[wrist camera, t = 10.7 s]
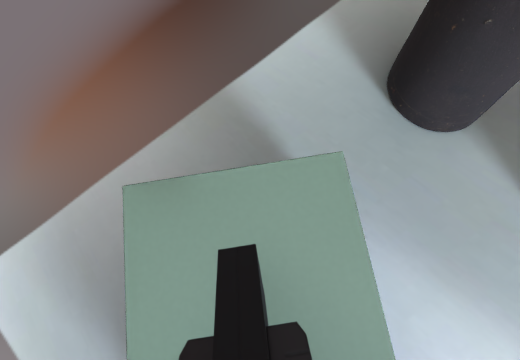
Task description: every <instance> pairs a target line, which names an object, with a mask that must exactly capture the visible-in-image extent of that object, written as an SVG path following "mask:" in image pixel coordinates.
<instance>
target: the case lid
mask: <svg viewBox="0 0 520 360" xmlns="http://www.w3.org/2000/svg"><path fill="white" fill-rule="evenodd" d="M123 224H124V264H125V304H126V344H127V360H179V355H180V353H181V352H182V350H183V348H184V346H185V344H186V343H187V341H188V340H190V339H196V338H203V337H209V336H214V319H215V299H216V280H217V260H218V250H219V249H226V248H232V247H238V246H245V245H251V244H256V248H257V254H258V259H259V265H260V271H261V277H262V282H263V288H264V294H265V301H266V310H267V318H268V326H271V325H277V324H283V323H290V322H296V321H297V323H298V324H299V325H300V326H301V328H302V329H303V330H304V332H305V333H306V335H307V339H308V344H309V348H310V353H311V356H312V360H395V356H394V352H393V348H392V344H391V340H390V336H389V332H388V328H387V325H386V321H385V317H384V313H383V309H382V305H381V301H380V297H379V293H378V289H377V285H376V281H375V277H374V273H373V269H372V265H371V261H370V257H369V253H368V249H367V245H366V241H365V238H364V234H363V230H362V226H361V222H360V218H359V214H358V210H357V206H356V202H355V198H354V194H353V190H352V186H351V182H350V178H349V174H348V170H347V166H346V162H345V158H344V154H343V151H341V152H335V153H328V154H322V155H316V156H309V157H303V158H297V159H290V160H284V161H278V162H271V163H265V164H259V165H252V166H246V167H240V168H233V169H227V170H221V171H214V172H208V173H202V174H195V175H189V176H183V177H176V178H170V179H164V180H157V181H151V182H145V183H138V184H132V185H126V186H123Z"/></svg>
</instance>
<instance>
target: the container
mask: <svg viewBox="0 0 520 360" xmlns="http://www.w3.org/2000/svg"><path fill="white" fill-rule="evenodd" d="M519 80H520V0H429V1H428V3H427V5H426V7H425V8H424V10H423V12H422V14H421V15H420V17H419V19H418V21H417V23H416V24H415V26H414V28H413V30H412V32H411V33H410V35H409V37H408V39H407V40H406V42H405V44H404V46H403V47H402V49H401V51H400V53H399V54H398V56H397V58H396V60H395V62H394V64H393V66H392V68H391V70H390V72H389V75H388V82H387V85H388V92H389V95H390V98H391V100H392V102H393V104H394V105H395V107H396V108H397V109H398V111H399V112H400V113H401V114H402V115H403V116H405V117H406V118H407V119H408V120H410V121H411V122H413V123H414V124H416V125H418V126H420V127H423V128H425V129H429V130H433V131H440V132H450V131H456V130H460V129H463V128H465V127H467V126H469V125H470V124H472V123H473V122H474V121H475V120H477V119H478V118H479V117H480V116H481V115H482V114H483V113H484V112H486V111H487V110H488V109H489V108H490V107H491V106H492V105H493V104H494V103H495V102H496V101H497V100H498V99H499V98H501V97H502V96H503V95H504V94H505V93H506V92H507V91H508V90H509V89H510V88H511V87H512V86H514V85H515V84H516V83H517V82H518V81H519Z"/></svg>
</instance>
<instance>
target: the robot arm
mask: <svg viewBox="0 0 520 360" xmlns="http://www.w3.org/2000/svg"><path fill="white" fill-rule="evenodd" d="M179 360H312V356H311V353H310V348H309V344H308V339H307V335H306V333H305V332H304V330H303V329H302V328H301V326H300V325H299V324H298V323H297V321H296V322H290V323H283V324H277V325H271V326H268V318H267V310H266V301H265V294H264V288H263V282H262V277H261V271H260V265H259V259H258V254H257V248H256V244H251V245H245V246H238V247H232V248H226V249H219V250H218V260H217V280H216V299H215V319H214V336H209V337H203V338H196V339H190V340H188V341H187V343H186V344H185V346H184V348H183V350H182V352H181V353H180V355H179Z"/></svg>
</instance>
